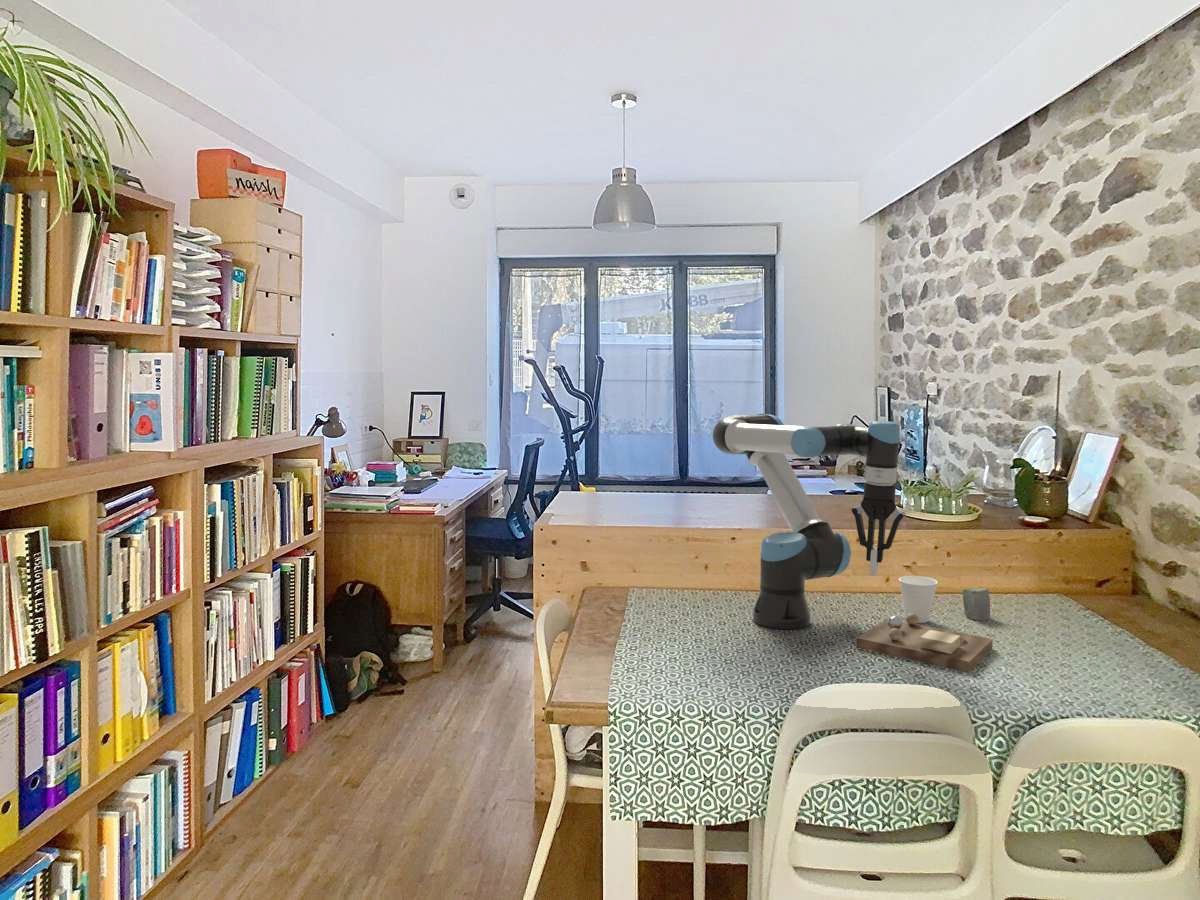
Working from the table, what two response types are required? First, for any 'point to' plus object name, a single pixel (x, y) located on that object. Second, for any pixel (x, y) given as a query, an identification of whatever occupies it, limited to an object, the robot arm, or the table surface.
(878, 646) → the board
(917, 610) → the cup
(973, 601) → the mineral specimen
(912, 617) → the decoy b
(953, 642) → the cover
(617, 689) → the table surface
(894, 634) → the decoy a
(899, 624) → the steel ball
